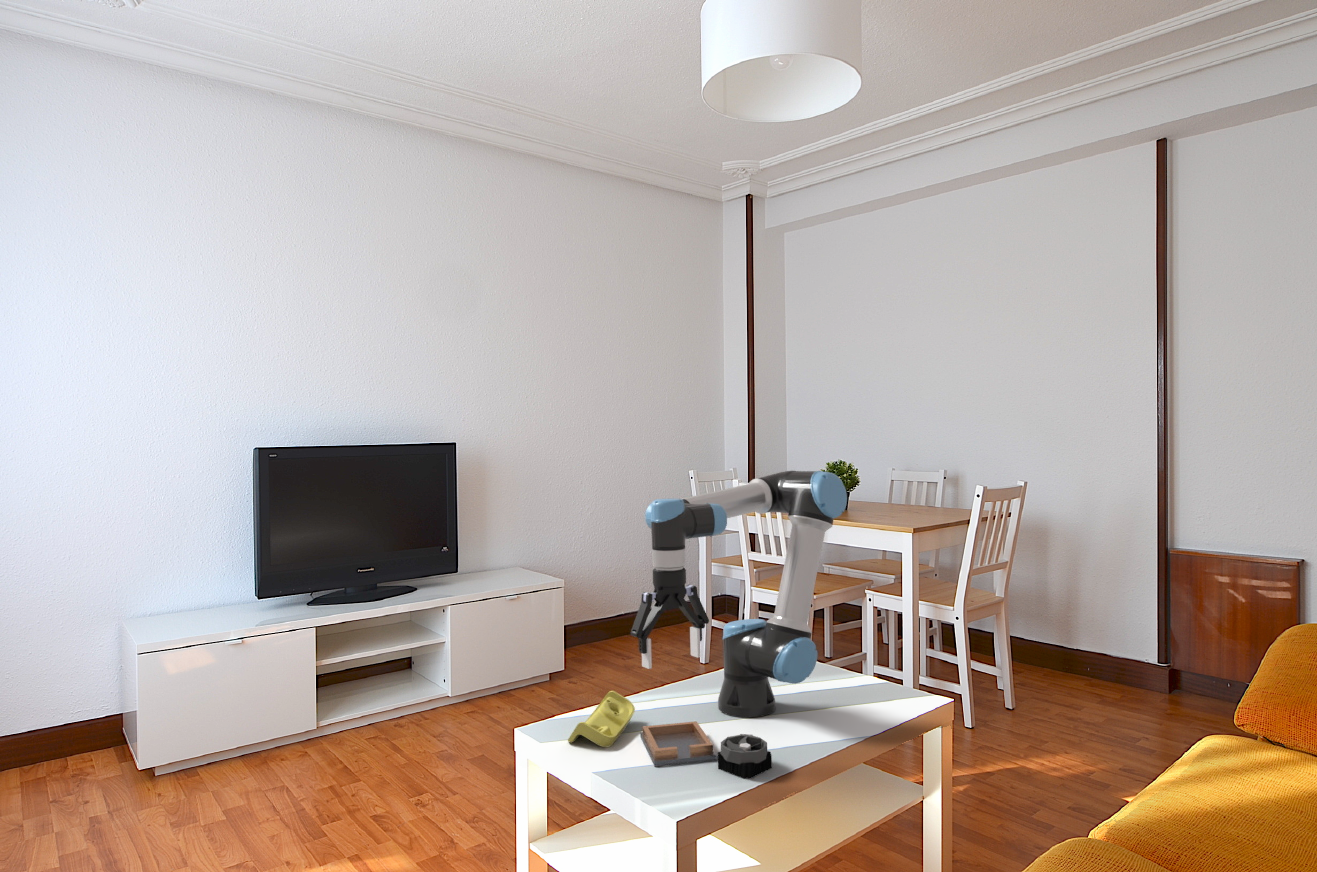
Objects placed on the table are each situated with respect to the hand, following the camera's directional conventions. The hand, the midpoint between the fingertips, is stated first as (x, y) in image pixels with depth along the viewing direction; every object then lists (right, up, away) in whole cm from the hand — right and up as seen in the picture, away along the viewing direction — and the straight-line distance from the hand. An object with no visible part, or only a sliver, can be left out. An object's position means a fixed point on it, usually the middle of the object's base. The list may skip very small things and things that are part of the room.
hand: (671, 661), depth 180 cm
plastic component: (-16, -23, +17) cm, 32 cm away
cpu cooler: (+16, -22, -6) cm, 28 cm away
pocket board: (+1, -22, +6) cm, 23 cm away
